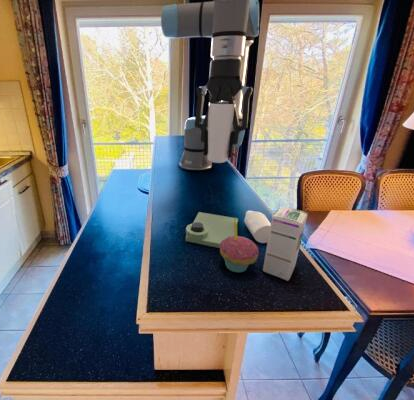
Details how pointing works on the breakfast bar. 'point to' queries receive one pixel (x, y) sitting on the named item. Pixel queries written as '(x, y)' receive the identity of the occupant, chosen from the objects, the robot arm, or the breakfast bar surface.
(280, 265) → the syrup box
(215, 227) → the scale
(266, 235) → the roll
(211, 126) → the drinking glass
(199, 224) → the button
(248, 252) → the cupcake
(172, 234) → the breakfast bar surface
